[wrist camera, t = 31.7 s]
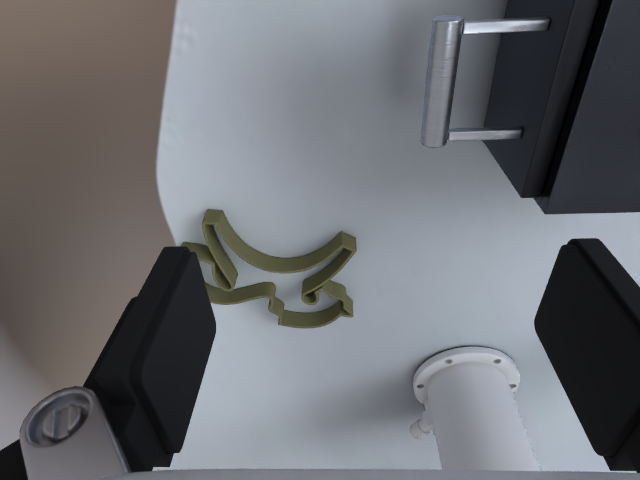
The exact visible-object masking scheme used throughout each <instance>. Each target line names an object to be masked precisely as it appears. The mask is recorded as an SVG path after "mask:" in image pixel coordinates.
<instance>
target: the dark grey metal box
mask: <svg viewBox="0 0 640 480" xmlns="http://www.w3.org/2000/svg"><path fill="white" fill-rule="evenodd" d="M534 200H535V201H536V203H537V204H538V205H539V206H540V208H541V210H542V211H543V212H544V214H576V213H620V212H640V0H602V3H601V6H600V10H599V13H598V16H597V19H596V23H595V26H594V29H593V32H592V36H591V39H590V42H589V46H588V49H587V52H586V55H585V59H584V62H583V65H582V68H581V72H580V75H579V78H578V82H577V85H576V88H575V91H574V95H573V98H572V101H571V105H570V108H569V111H568V114H567V118H566V121H565V124H564V127H563V131H562V134H561V137H560V141H559V144H558V147H557V150H556V154H555V157H554V160H553V163H552V166H551V165H550V168H549V171H548V175H547V178H546V181H545V185H544V188H543V191H542V194H541V197H537V198H534Z"/></svg>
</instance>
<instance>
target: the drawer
mask: <svg viewBox="0 0 640 480" xmlns="http://www.w3.org/2000/svg"><path fill="white" fill-rule="evenodd" d="M601 1H602V0H508V2H507V8H506V13H505V18H504V19H487V20H465V21H464V19H463V18H462V17H460V16H438V17H435V18H433V20H432V29H431V39H430V49H429V59H428V69H427V79H426V89H425V99H424V109H423V120H422V130H421V140H420V142H421V144H422V145H424V146H426V147H432V148H438V147H442V146H445V145H446V143H447V140H448V141H461V140H482V141H483V142H484V144H485V145H486V146H487V148H488V149H489V151H490V152H491V154H492V155H493V157H494V158H495V160H496V161H497V163H498V164H499V166H500V167H501V169H502V170H503V172H504V173H505V175H506V176H507V177H508V179H509V180H510V182H511V183H512V185H513V186H514V188H515V189H516V191H517V192H518V194H519V195H520V197H521V198H537V197H541V194H542V191H543V188H544V185H545V181H546V178H547V175H548V171H549V168H550V165H551V166H552V163H553V160H554V157H555V154H556V150H557V147H558V144H559V141H560V137H561V134H562V131H563V127H564V124H565V121H566V118H567V114H568V111H569V108H570V105H571V101H572V99H571V95H572V92H573V89H574V85H575V82H576V79H577V76H578V72H579V69H580V66H581V62H582V59H583V56H584V52H585V49H586V46H587V43H588V39H589V36H590V33H591V29H592V26H593V23H594V19H595V16H596V13H597V10H598V6H599V3H600V2H601ZM489 33H502V34H501V39H500V45H499V50H498V55H497V61H496V66H495V71H494V76H493V82H492V87H491V92H490V97H489V103H488V108H487V113H486V119H485V124H484V128H454V129H449V123H450V116H451V108H452V101H453V94H454V87H455V80H456V72H457V65H458V58H459V51H460V43H461V36H462V34H463V35H467V34H489Z"/></svg>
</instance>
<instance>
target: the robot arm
mask: <svg viewBox="0 0 640 480" xmlns="http://www.w3.org/2000/svg"><path fill="white" fill-rule="evenodd" d="M534 325H535V330H536V333H537V335H538V337H539V339H540V341H541V343H542V345H543V347H544V349H545V351H546V353H547V356H548V358H549V360H550V362H551V364H552V366H553V368H554V370H555V372H556V374H557V376H558V378H559V380H560V382H561V384H562V386H563V388H564V390H565V392H566V394H567V396H568V398H569V400H570V402H571V404H572V406H573V409H574V411H575V413H576V415H577V417H578V419H579V421H580V423H581V425H582V427H583V429H584V431H585V433H586V435H587V437H588V439H589V441H590V443H591V445H592V447H593V449H594V451H595V452H596V453H597V454H598V455H600V456H603V457H604V459H605V461H606V463H607V465H608V467H609V469H610V471H636V472H637V473H617V472H571V471H541V468H540V466H539V463H538V460H537V458H536V455H535V452H534V450H533V447H532V444H531V442H530V439H529V436H528V434H527V431H526V428H525V426H524V423H523V420H522V418H521V415H520V412H519V410H518V407H517V404H516V402H515V399H514V396H513V394H514V393H515V391H516V390H517V388H518V386H519V383H520V374H519V371H518V368H517V366H516V364H515V363H514V361H513V360H512V359H511V358H510V357H509V356H507V355H506V354H504V353H502V352H500V351H498V350H494V349H490V348H485V347H461V348H455V349H451V350H447V351H444V352H442V353H439V354H437V355H435V356H433V357H431V358H429V359H428V360H427V361H426V362H424V363H423V364H422V365H421V366H420V367H419V368H418V369H417V371H416V373H415V375H414V378H413V388H414V393H415V396H416V397H417V399H418V401H420V402H421V403H422V404H423V405H424V406H425V411H424V412H423V414H422V418H420V419H418V420H417V421H416V422H415V423H413V424H412V425H411V426H410V433H411V434H412V436H413V437H414V438H416V439H421V438H422V437H424V436H425V435H426V434H427V433H429V431H430V430H431V429H432V430H433V433H434V435H435V436H436V440H437V446H438V451H439V456H440V461H441V466H442V470H387V469H195V470H162V471H152V470H153V467H170V464H171V461H172V458H173V454H174V453H179V452H180V451H181V449H182V446H183V443H184V440H185V436H186V433H187V429H188V426H189V423H190V419H191V416H192V412H193V409H194V406H195V402H196V399H197V395H198V392H199V389H200V385H201V382H202V378H203V375H204V372H205V368H206V365H207V361H208V358H209V355H210V351H211V348H212V344H213V341H214V338H215V334H216V321H215V317H214V314H213V310H212V307H211V303H210V300H209V296H208V292H207V289H206V285H205V282H204V278H203V275H202V271H201V267H200V264H199V260H198V257H197V254H196V253H195V252H190V249H189V248H188V247H186V246H179V247H164V248H163V250H162V252H161V253H160V255H159V257H158V259H157V261H156V263H155V264H154V266H153V268H152V270H151V272H150V274H149V276H148V278H147V279H146V281H145V283H144V285H143V287H142V289H141V291H140V293H139V294H138V296H137V297H134V298H132V299H131V301H130V302H129V303H128V305H127V307H126V308H125V311H124V312H123V314H122V316H121V318H120V319H119V321H118V323H117V325H116V327H115V329H114V330H113V332H112V334H111V336H110V338H109V340H108V341H107V343H106V345H105V347H104V349H103V350H102V352H101V354H100V356H99V358H98V360H97V362H96V363H95V365H94V367H93V369H92V371H91V372H90V374H89V376H88V378H87V380H86V382H85V383H84V385H83V387H78V386H74V387H69V388H64V389H61V390H59V391H56V392H54V393H52V394H50V395H49V396H47V397H45V398H44V399H42V400H41V401H40V402H39V403H38V404H37V405H36V406H34V407H33V408H32V409H31V410H30V412H29V413H28V415H27V416H26V417H25V419H24V421H23V423H22V426H21V428H20V439H18V440H17V441H15V442H14V443H12V444H10V445H9V446H7V447H5V448H4V449H2V450H1V451H0V480H640V287H639V286H638V285H637V283H636V282H635V281H634V280H633V279H632V277H631V276H630V275H629V274H628V273H627V271H626V270H625V269H624V268H623V267H622V265H621V264H620V263H619V262H618V261H617V259H616V258H615V257H614V256H613V255H612V254H611V252H610V251H609V250H608V249H607V248H606V246H605V245H604V244H603V243H602V242H601V241H600V240H599V239H596V238H590V239H571V240H570V241H569V242H568V244H567V245H563V246H562V247H561V248H560V251H559V253H558V256H557V259H556V262H555V264H554V267H553V270H552V273H551V275H550V278H549V281H548V284H547V286H546V289H545V292H544V295H543V297H542V300H541V303H540V305H539V308H538V311H537V314H536V316H535V320H534Z"/></svg>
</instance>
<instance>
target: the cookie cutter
mask: <svg viewBox="0 0 640 480" xmlns="http://www.w3.org/2000/svg"><path fill="white" fill-rule="evenodd" d="M213 225H216V226H217V228H218V230H219V232H220V234H221V236H222V237H223V239H224V240H225V242H226V243H227V244H228V246H229V247H230V248H231V249H232V250H233V251H234V252H235V253H236V254H237V255H238V256H239V257H240V258H242V259H243V260H244V261H246V262H247V263H249V264H251V265H253V266H255V267H257V268H259V269H262V270H265V271H269V272H274V273H296V272H301V271H305V270H308V269H311V268H314V267H316V266H318V265H320V264H322V263H323V262H325V261H327V260H328V259H329V258H331V257H332V256H333V255H335V254H336V253H337V252H338V251H339V250H340V249H341V248H342V247H343V248H344V250H343V251H342V252H341V253H340V254H339V255H338V256H337V257H336V258H335V259H334V260H333V261H332V262H331V263H330V264H329V265H328V266H327V267H325V268H324V269H323V270H321V271H320V272H318V273H317V274H315V275H313V276H311V277H309V278H307V279H305V280H304V281H303V287H302V301H303V302H304V303H306V304H309V305H314V304H316V303H317V302H318V301H319V292H320V291H323V292H325V293H326V294H327V295H329V296H330V297H332V298H336V299H339V301H338V302H337V303H336V304H335V305H333V306H332V307H330V308H328V309H326V310H323V311H320V312H314V313H299V312H291V311H286V310H283V309H284V304H283V302H282V301H281V300H279V299H277V298H275V291H276V286H275V284H274V283H271V282H264V283H259V284H255V285H251V286H248V287H244V288H239V289H234V286H235V283H236V279H237V276H238V273H237V270H236V269H235V267H234V265H233V264H232V262H231V261H230V259H229V257H228V256H227V254H226V253H225V251H224V249H223V247H222V246H221V244H220V242H219V240H218V238H217V235H216V233H215V231H214V228H213ZM202 229H203V234H204V237H205V240H206V243H207V245H208V246H205V245H201V244H196V243H187V242H183V244H182V246H186V247H188V248H189V249H190V252H195V253H196V254H197V257H198V260H199V261H203V262H206V263H208V264H211V265H212V274H213V278H214V281H215V283H216V284H217V286H218V287H219V288H216V287H213V286H211V285H209V284H207V283H206V282H205V285H206V289H207V292H208V296H209V300H210V302H211V303H214V304H221V305H230V304H238V303H242V302H246V301H250V300H254V299H258V298H264V297H267V298H270V301H269V307H268V310H269V311H270V312H272V313H274V314H276V315H277V316H279V322H278V325H282V326H287V327H294V328H317V327H321V326H325V325H327V324H330V323H332V322H333V321H335V320H336V319H338V318H339V317H340V316H344V317H353V302H352V300H351V299H350V298H349V297H348V296H347V295H346V288H345V287H344V286H343V285H341V284H338V283H335V282H332V281H331V280H330V279H331V278H333V277H334V276H335V275H336V274H337V273H338V272H339V271H340V270H341V269H342V268H343V267H344V266H345V265H346V263H347V262H348V261H349V260H350V259H351V257H352V256H353V255H354V253H355V252H356V251H357V250H356V238H355V237H353V236H351V235H348V234H346V233H344V232H342V231H341V233H340V234H339V235H338V236H337V237H336V238H334V239H333V240H332V241H331V242H330V243H328V244H327V245H326V246H324V247H323V248H321V249H319V250H317V251H315V252H313V253H311V254H308V255H305V256H301V257H296V258H278V257H273V256H269V255H266V254H263V253H261V252H259V251H257V250H255V249H253V248H252V247H250V246H249V245H247V244H246V243H245V242H244V241H243V240H242V239H241V238H240V237H239V236H238V235H237V234H236V233H235V231H234V230H233V229H232V227H231V226H230V224H229V223H228V221H227V219H226V217H225V215H224V212H223V210H207V212H206V214H205V216H204V219H203V221H202ZM220 288H221V289H220Z"/></svg>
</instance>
